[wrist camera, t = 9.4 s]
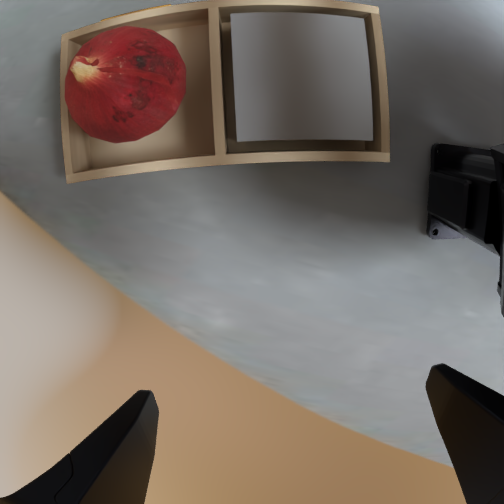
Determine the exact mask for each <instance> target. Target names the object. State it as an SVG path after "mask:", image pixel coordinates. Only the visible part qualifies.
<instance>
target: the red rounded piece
mask: <svg viewBox="0 0 504 504" xmlns="http://www.w3.org/2000/svg"><path fill="white" fill-rule="evenodd" d="M185 94H186V66H185V63H184V61H183V59H182V57H181V55H180V54H179V52H178V50H177V48H176V46H175V44H173V43H172V42H171V41H170V40H168V39H167V38H165V37H163V36H162V35H160V34H159V33H157V32H155V31H154V30H152V29H147V28H141V27H133V26H122V27H118V28H115V29H111V30H108V31H105V32H102V33H100V34H98V35H97V36H95V37H94V38H92V39H91V40H89V41H88V42H86V43H85V44H83V45H82V47H81V48H80V49H79V51H78V52H77V54H76V55H75V56H74V58H73V59H72V61H71V63H70V66H69V69H68V72H67V75H66V78H65V96H64V97H65V101H66V104H67V107H68V109H69V112H70V114H71V117H72V119H73V120H74V121H75V122H76V123H77V124H78V125H79V126H80V127H81V128H82V129H83V130H84V131H85V132H86V133H87V134H88V135H89V136H90V137H93V138H97V139H100V140H104V141H107V142H111V143H123V142H131V141H137V140H139V139H141V138H143V137H145V136H148V135H150V134H152V133H154V132H156V131H158V130H160V129H161V128H162V127H163V126H164V125H165V124H166V123H167V122H168V121H169V120H170V119H171V118H172V117H173V116H174V115H175V114H176V112H177V110H178V108H179V106H180V104H181V102H182V100H183V98H184V96H185Z"/></svg>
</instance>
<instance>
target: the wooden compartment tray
mask: <svg viewBox="0 0 504 504" xmlns="http://www.w3.org/2000/svg"><path fill="white" fill-rule="evenodd" d="M122 26H133V27H141V28H147V29H152V30H154V31H155V32H157V33H159V34H160V35H162V36H163V37H165V38H167V39H168V40H170V41H171V42H172V43H173V44H175V46H176V48H177V50H178V52H179V54H180V55H181V57H182V59H183V61H184V63H185V66H186V94H185V96H184V98H183V100H182V102H181V104H180V106H179V108H178V110H177V112H176V114H175V115H174V116H173V117H172V118H171V119H170V120H169V121H168V122H167V123H166V124H165V125H164V126H163V127H162V128H161V129H160V130H158V131H156V132H154V133H152V134H150V135H148V136H145V137H143V138H141V139H139V140H137V141H131V142H123V143H111V142H107V141H104V140H100V139H97V138H93V137H90V136H89V135H88V134H87V133H86V132H85V131H84V130H83V129H82V128H81V127H80V126H79V125H78V124H77V123H76V122H75V121H74V120H73V119H72V117H71V114H70V112H69V109H68V107H67V104H66V101H65V97H64V96H65V78H66V75H67V72H68V69H69V66H70V63H71V61H72V59H73V58H74V56H75V55H76V54H77V52H78V51H79V49H80V48H81V47H82V45H83V44H85V43H86V42H88V41H89V40H91V39H92V38H94V37H95V36H97V35H98V34H100V33H102V32H105V31H108V30H111V29H115V28H118V27H122ZM60 110H61V130H62V144H63V155H64V165H65V174H66V182H67V184H69V183H75V182H81V181H87V180H93V179H100V178H106V177H113V176H120V175H128V174H135V173H143V172H152V171H161V170H170V169H180V168H191V167H202V166H215V165H229V164H246V163H266V162H296V161H368V162H390V125H389V101H388V86H387V73H386V62H385V52H384V44H383V36H382V28H381V21H380V15H379V8H378V7H377V6H371V5H365V4H358V3H351V2H343V1H334V0H208V1H199V2H191V3H184V4H178V5H171V4H168V5H163V6H157V7H152V8H147V9H143V10H138V11H134V12H130V13H126V14H122V15H118V16H114V17H110V18H107V19H103V20H101V22H98V23H95V24H92V25H88V26H85V27H82V28H79V29H76V30H74V31H71V32H68V33H65V34H62V38H61V57H60Z"/></svg>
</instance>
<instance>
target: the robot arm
mask: <svg viewBox="0 0 504 504" xmlns="http://www.w3.org/2000/svg"><path fill="white" fill-rule="evenodd" d="M438 148H439V149H440V153H439V154H438V152H437V150H438ZM490 150H491V151H490ZM490 150H484V149H477V148H471V147H463V146H456V145H448V144H439V143H436V144H434V145H433V146H432V149H431V174H430V179H429V198H428V224H427V235H428V236H429V237H430V238H432V239H450V238H469V239H471V240H473V241H474V242H476V243H478V244H480V245H481V246H483V247H485V248H486V249H488V250H490V251H492V252H493V253H495V254H497V255H498V256H500V278H499V282H498V289H497V291H498V293H499V295H500V297H501V301H500V304H501V312H502V315H503V317H504V144H501V145H498V146H494V147H490ZM434 229H435V233H434V234H433V233H432V232H433V230H434ZM426 391H427V395H428V398H429V401H430V404H431V407H432V411H433V414H434V417H435V421H436V424H437V426H438V429H439V431H440V434H441V436H442V439H443V441H444V444H445V446H446V448H447V451H448V454H449V456H450V459H451V461H452V464H453V466H454V469H455V472H456V474H457V477H458V480H459V483H460V486H461V488H462V491H463V494H464V497H465V500H466V503H467V504H504V396H503V395H501V394H499V393H498V392H496V391H494V390H492V389H490V388H488V387H486V386H485V385H483V384H481V383H479V382H477V381H475V380H473V379H472V378H470V377H468V376H466V375H464V374H462V373H460V372H459V371H457V370H455V369H453V368H451V367H449V366H447V365H446V364H443V363H441V364H437V365H434V366H432V368H431V370H430V373H429V376H428V379H427V381H426ZM158 417H159V410H158V406H157V403H156V400H155V397H154V394H153V393H152V391H150V390H139V391H137V392H136V393H135V394H134V395H133V396H132V397H131V398H130V399H129V400H127V401H126V402H125V403H124V404H123V405H122V406H121V407H120V408H119V409H117V410H116V411H115V412H114V413H113V414H112V415H111V416H110V417H109V418H107V419H106V420H105V421H104V422H103V423H102V424H101V425H100V426H99V427H97V429H95V430H94V431H93V432H92V433H91V434H90V435H89V436H87V437H86V438H85V439H84V440H83V441H82V442H81V443H80V444H78V445H77V446H76V447H75V448H74V449H73V450H72V451H71V452H70V454H69V453H68V454H67V455H66V456H65V457H63V458H62V459H61V460H60V461H59V462H58V463H56V464H55V465H54V466H53V467H52V468H50V469H49V470H47V471H46V472H45V473H43V474H42V475H40V476H39V477H38V478H36V479H35V480H33V481H32V482H30V483H29V484H27V485H26V486H24V487H23V488H21V489H20V490H18V491H16V492H15V493H13V494H11V495H9V496H6V497H3V498H0V504H144V502H145V497H146V493H147V488H148V483H149V478H150V474H151V469H152V464H153V460H154V455H155V445H156V435H157V426H158Z"/></svg>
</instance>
